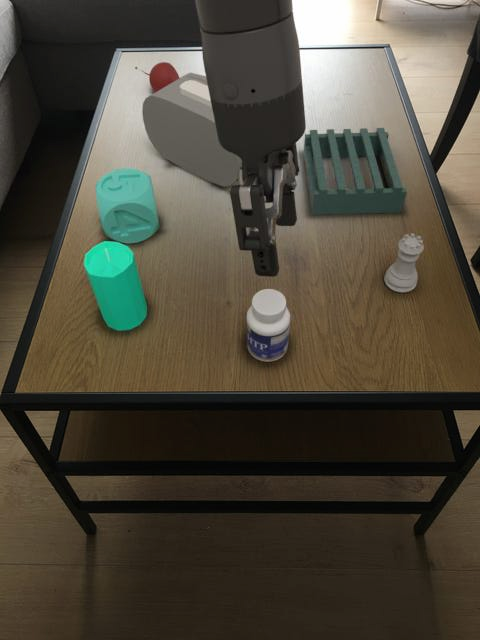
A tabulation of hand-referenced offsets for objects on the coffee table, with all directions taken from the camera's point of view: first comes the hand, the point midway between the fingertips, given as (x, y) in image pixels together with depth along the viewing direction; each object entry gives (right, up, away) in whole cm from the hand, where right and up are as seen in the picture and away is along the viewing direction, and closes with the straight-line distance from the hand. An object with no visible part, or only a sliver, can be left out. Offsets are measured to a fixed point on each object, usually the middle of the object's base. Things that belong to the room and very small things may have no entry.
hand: (277, 247), depth 54 cm
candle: (-19, -6, +19) cm, 28 cm away
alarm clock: (-9, +20, +40) cm, 45 cm away
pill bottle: (0, -11, +15) cm, 19 cm away
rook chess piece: (+18, -2, +21) cm, 28 cm away
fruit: (-20, +39, +55) cm, 70 cm away
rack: (+14, +16, +35) cm, 41 cm away
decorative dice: (-20, +7, +30) cm, 37 cm away
